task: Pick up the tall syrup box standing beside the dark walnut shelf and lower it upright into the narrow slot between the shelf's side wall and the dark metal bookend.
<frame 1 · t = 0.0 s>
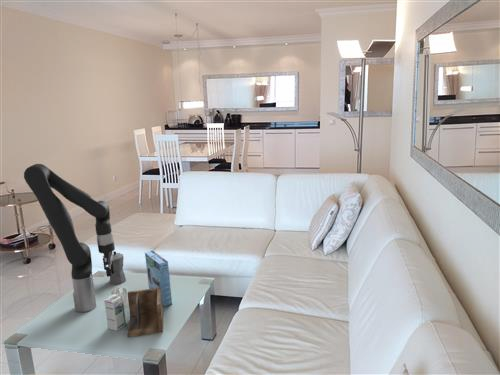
hand: (110, 272, 196), 17 cm above the table, tool pointing down, fingers open, 8 cm apart
coffeepot: (117, 282, 225), on the table
gum box: (160, 298, 205), on the table
bookshelf: (146, 324, 180), on the table
syrup box: (117, 327, 180), on the table
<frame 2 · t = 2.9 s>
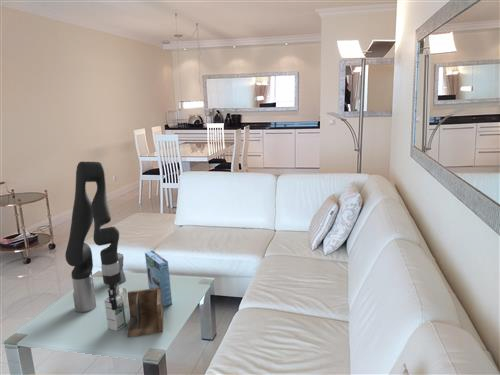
hand: (115, 304, 178), 11 cm above the table, tool pointing down, fingers open, 8 cm apart
nothing on the table moved.
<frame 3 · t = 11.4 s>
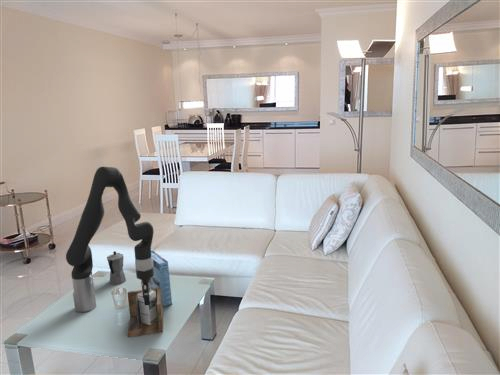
hand: (147, 300, 178), 12 cm above the table, tool pointing down, fingers open, 8 cm apart
syrup box: (149, 321, 181), point 1 cm above the table, touching bookshelf, gripper
everything else where it was.
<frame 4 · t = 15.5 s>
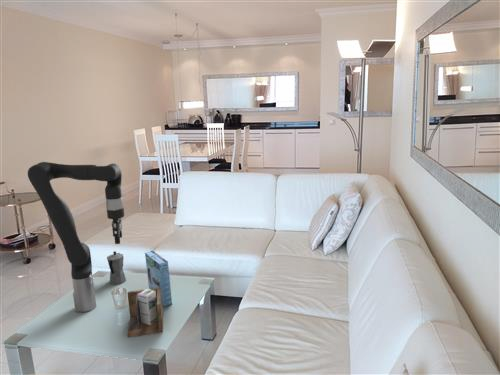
hand: (118, 240, 186), 36 cm above the table, tool pointing down, fingers open, 8 cm apart
syrup box: (149, 321, 181), point 1 cm above the table, touching bookshelf
everything else where it was.
at the end: syrup box 0.2 cm from the target spot on the bookshelf, point 1.3 cm above the bookshelf's base; syrup box tilted 0°; the gripper is holding nothing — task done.
